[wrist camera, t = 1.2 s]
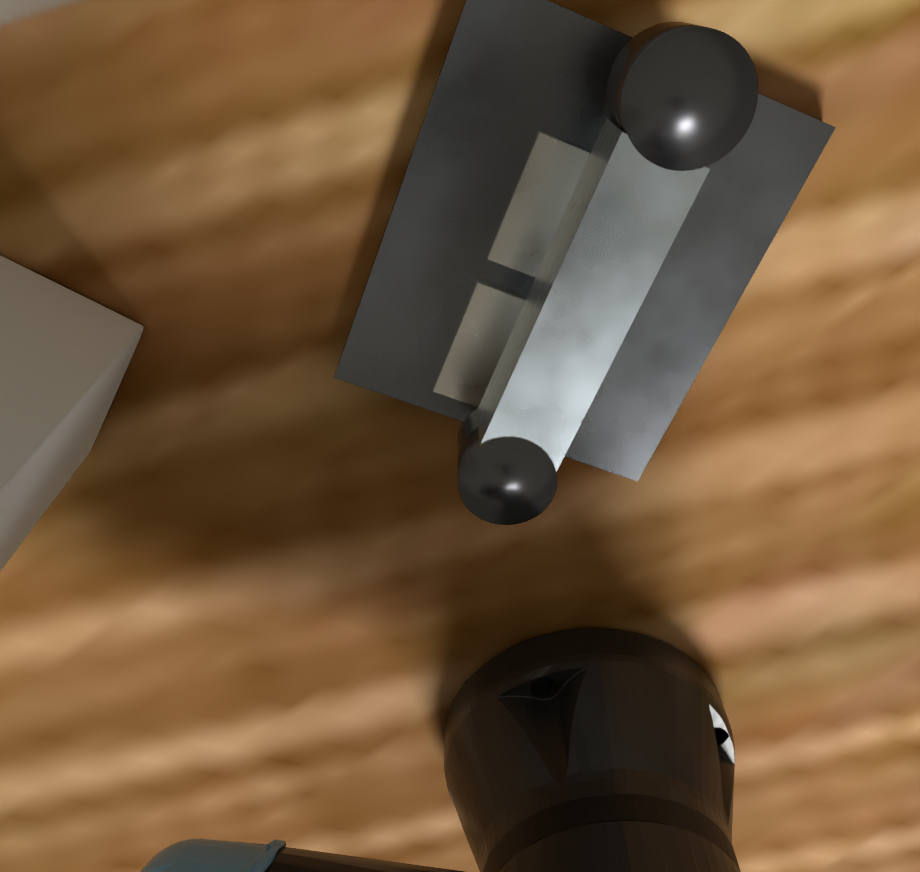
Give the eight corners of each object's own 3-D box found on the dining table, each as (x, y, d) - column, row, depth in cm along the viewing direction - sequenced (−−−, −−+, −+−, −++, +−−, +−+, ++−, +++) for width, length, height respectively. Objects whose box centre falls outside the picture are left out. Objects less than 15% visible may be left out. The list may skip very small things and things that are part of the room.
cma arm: (531, 493, 36) (538, 538, 33) (439, 462, 35) (438, 505, 32) (751, 51, 28) (785, 60, 25) (640, 0, 27) (661, 3, 25)
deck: (632, 467, 40) (648, 510, 37) (337, 366, 37) (326, 402, 34) (825, 117, 33) (866, 132, 30) (478, -37, 30) (481, -38, 27)
